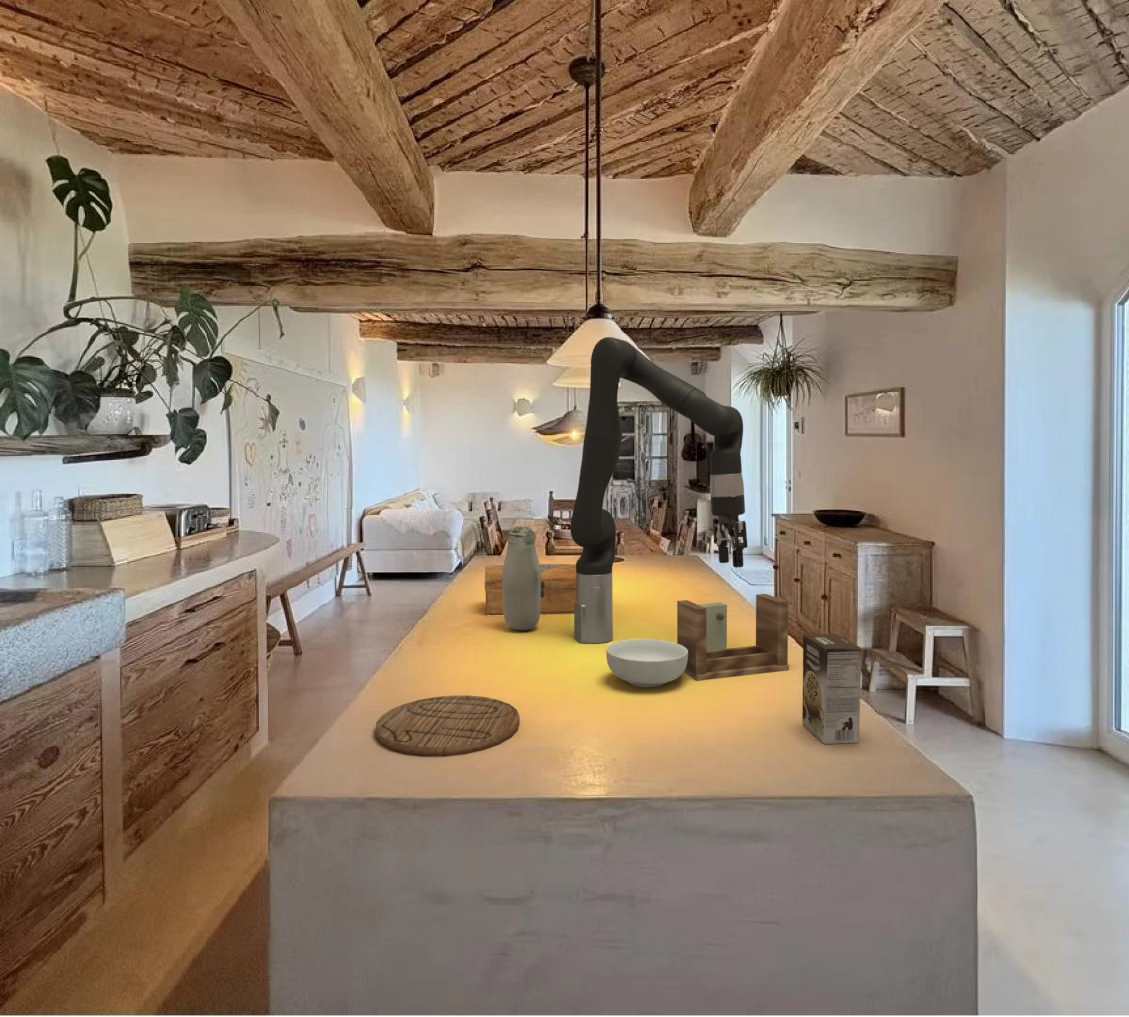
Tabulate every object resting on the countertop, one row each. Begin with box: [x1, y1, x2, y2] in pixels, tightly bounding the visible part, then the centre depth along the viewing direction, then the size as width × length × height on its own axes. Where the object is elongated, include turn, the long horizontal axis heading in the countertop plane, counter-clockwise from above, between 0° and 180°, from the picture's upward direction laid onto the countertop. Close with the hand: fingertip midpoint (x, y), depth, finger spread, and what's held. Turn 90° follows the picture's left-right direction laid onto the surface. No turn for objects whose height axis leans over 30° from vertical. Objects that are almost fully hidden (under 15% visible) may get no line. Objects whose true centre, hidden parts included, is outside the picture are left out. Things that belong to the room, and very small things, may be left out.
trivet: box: [375, 694, 521, 758], centre depth 131 cm, size 25×25×2 cm
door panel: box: [696, 601, 728, 651], centre depth 172 cm, size 10×4×12 cm, turn 107°
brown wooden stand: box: [676, 593, 790, 682], centre depth 162 cm, size 22×10×15 cm, turn 107°
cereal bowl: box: [605, 638, 688, 688], centre depth 155 cm, size 17×17×7 cm
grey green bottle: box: [502, 526, 541, 632], centre depth 200 cm, size 10×10×28 cm
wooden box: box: [484, 563, 576, 616], centre depth 225 cm, size 30×16×14 cm, turn 92°
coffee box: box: [801, 633, 862, 745], centre depth 125 cm, size 9×6×16 cm
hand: (731, 564), depth 170 cm, fingers open, 8 cm apart
